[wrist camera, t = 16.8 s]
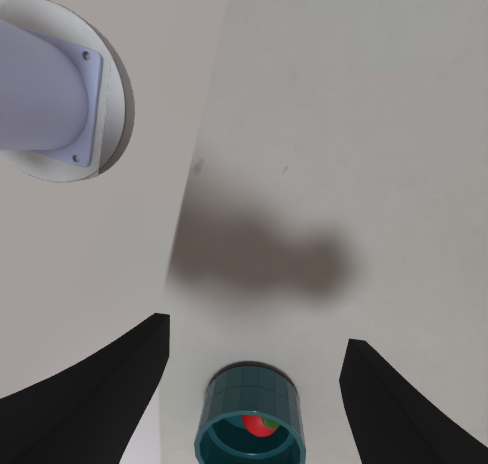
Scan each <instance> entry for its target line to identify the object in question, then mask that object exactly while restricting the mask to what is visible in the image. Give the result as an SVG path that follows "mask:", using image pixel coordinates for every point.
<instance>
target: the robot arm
mask: <svg viewBox="0 0 488 464" xmlns="http://www.w3.org/2000/svg"><path fill="white" fill-rule="evenodd" d="M88 53H89V54H90V58H89V59H88V60H87V59H86V55H87V54H88ZM102 68H103V57H102V55H101V54H100V53H99V52H97V51H95V50H93V49H90V48H87V47H84V46H80V45H77V44H74V43H71V42H68V41H65V40H62V39H58V38H55V37H52V36H49V35H46V34H43V33H40V32H36V31H33V30H30V29H27V28H24V27H21V26H18V25H15V24H11V23H8V22H6V21H4V20H2V19H0V150H28V151H32V152H35V153H38V154H41V155H45V156H48V157H51V158H54V159H57V160H61V161H64V162H67V163H70V164H74V165H77V166H80V167H88V166H90V165H91V160H92V152H93V144H94V135H95V127H96V119H97V110H98V102H99V93H100V85H101V77H102ZM76 156H78V157H79V161H77V160H76ZM169 339H170V315H167V314H160V313H154V314H153V315H151V316H150V317H148V318H147V319H146V320H144V321H143V322H141V323H140V324H138V325H137V326H136V327H134V328H133V329H131V330H130V331H128V332H127V333H125V334H124V335H122V336H121V337H119V338H118V339H117V340H115V341H113V342H112V343H111V344H109V345H107V346H106V347H104V348H102V349H100V350H99V351H97V352H96V353H94V354H92V355H91V356H89V357H87V358H86V359H84V360H82V361H80V362H79V363H77V364H75V365H73V366H71V367H69V368H67V369H65V370H63V371H62V372H60V373H58V374H56V375H54V376H52V377H50V378H47V379H45V380H43V381H41V382H38V383H36V384H34V385H32V386H29V387H27V388H25V389H23V390H21V391H18V392H16V393H14V394H11V395H9V396H7V397H4V398H1V399H0V464H119V462H120V460H121V457H122V455H123V453H124V451H125V449H126V447H127V445H128V442H129V440H130V438H131V436H132V435H133V433H134V431H135V429H136V427H137V425H138V423H139V421H140V419H141V417H142V415H143V413H144V411H145V409H146V407H147V406H148V404H149V402H150V400H151V398H152V396H153V394H154V392H155V390H156V388H157V386H158V384H159V382H160V380H161V377H162V375H163V372H164V369H165V367H166V364H167V361H168V358H169ZM339 383H340V388H341V394H342V399H343V403H344V408H345V411H346V415H347V418H348V421H349V424H350V427H351V431H352V434H353V437H354V440H355V443H356V446H357V449H358V452H359V455H360V459H361V462H362V464H488V448H487V447H486V446H485V445H483V444H482V443H481V442H479V441H478V440H477V439H475V438H474V437H473V436H471V435H470V434H469V433H468V432H466V431H465V430H464V429H462V428H461V427H460V426H459V425H457V424H456V423H455V422H453V421H452V420H451V419H450V418H449V417H447V416H446V415H445V414H444V413H443V412H441V411H440V410H439V409H438V408H437V407H436V406H434V405H433V404H432V403H431V402H430V401H429V400H428V399H426V398H425V397H424V396H423V395H422V394H421V393H420V392H419V391H417V390H416V389H415V388H414V387H413V386H412V385H411V384H410V383H409V382H408V381H407V380H406V379H404V378H403V377H402V376H401V375H400V374H399V373H398V372H397V371H396V370H395V369H394V368H393V367H392V366H391V365H390V364H389V363H388V362H387V361H386V360H385V359H384V358H383V357H382V356H381V355H380V354H379V353H378V352H377V351H376V350H375V349H374V348H373V347H371V346H370V345H369V344H368V343H367V342H366V341H364V340H356V339H349V341H348V346H347V350H346V354H345V358H344V362H343V366H342V370H341V374H340V379H339Z"/></svg>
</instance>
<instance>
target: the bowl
mask: <svg viewBox="0 0 488 464" xmlns="http://www.w3.org/2000/svg"><path fill="white" fill-rule="evenodd" d="M241 415H255V416H260V417H263V418H267V419H270V420H273V421H275V422H276V423H278V424H280V426H279V427H278V428H277V429H276V430H275V431H274V432H273V433H272V434H271V435H268V436H265V437H259V436H255V435H253V434H252V433H250V432H249V431H248V430H247V429H246V427H245V425H244V424H243V421H242V417H241ZM194 447H195V456H196V458H197V460H198V462H199V464H305V459H306V447H305V439H304V432H303V425H302V418H301V411H300V403H299V399H298V396H297V393H296V391H295V389H294V387H293V386H292V385H291V384H290V383H289V382H288V380H287V379H285V378H284V377H282V376H281V375H279V374H277V373H276V372H273V371H272V370H269V369H266V368H262V367H258V366H240V367H236V368H232V369H229V370H227V371H225V372H223V373H222V374H220V375H218V376H217V377H216V378H215V379H214V380H213V382H212V383H211V384H210V385H209V387H208V390H207V393H206V396H205V400H204V404H203V408H202V413H201V417H200V421H199V425H198V429H197V433H196V438H195V442H194Z"/></svg>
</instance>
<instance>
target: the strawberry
mask: <svg viewBox="0 0 488 464" xmlns="http://www.w3.org/2000/svg"><path fill="white" fill-rule="evenodd" d="M241 417H242V421H243V424H244V425H245V427H246V429H247V430H248V431H249V432H250V433H252V434H253V435H255V436H259V437H265V436H268V435H271V434H272V433H273V432H274V431H275V430H276V429H277V428H278V427H279V426H280V424H278V423H276V422H275V421H273V420H270V419H267V418H263V417H260V416H255V415H241Z"/></svg>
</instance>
